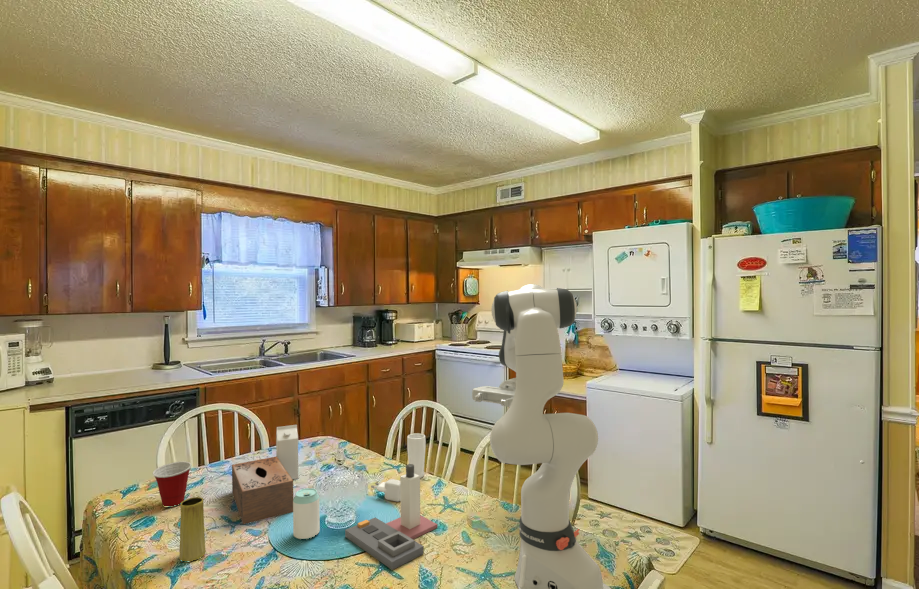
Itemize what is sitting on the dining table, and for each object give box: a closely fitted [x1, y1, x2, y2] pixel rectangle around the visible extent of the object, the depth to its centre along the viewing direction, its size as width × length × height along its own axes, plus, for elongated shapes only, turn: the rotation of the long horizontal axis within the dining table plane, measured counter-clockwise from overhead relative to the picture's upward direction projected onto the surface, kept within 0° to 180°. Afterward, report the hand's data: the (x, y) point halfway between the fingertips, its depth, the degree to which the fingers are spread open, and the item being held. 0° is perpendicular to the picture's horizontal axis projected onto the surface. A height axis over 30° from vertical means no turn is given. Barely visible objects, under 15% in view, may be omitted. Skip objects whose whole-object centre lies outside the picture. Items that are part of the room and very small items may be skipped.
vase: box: [178, 496, 207, 562], centre depth 121 cm, size 6×6×14 cm
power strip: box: [344, 517, 425, 571], centre depth 125 cm, size 22×10×4 cm, turn 44°
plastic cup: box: [152, 461, 192, 506], centre depth 151 cm, size 11×11×12 cm
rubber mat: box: [386, 514, 438, 540], centre depth 134 cm, size 11×11×1 cm
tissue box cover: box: [231, 455, 294, 525], centre depth 152 cm, size 26×14×10 cm, turn 32°
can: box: [292, 487, 321, 540], centre depth 131 cm, size 7×7×12 cm
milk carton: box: [275, 424, 299, 480], centre depth 172 cm, size 7×7×19 cm
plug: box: [400, 463, 421, 529], centre depth 134 cm, size 4×4×17 cm
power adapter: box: [370, 478, 401, 503], centre depth 154 cm, size 11×5×6 cm, turn 67°
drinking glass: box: [406, 432, 427, 479], centre depth 172 cm, size 7×7×15 cm
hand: (489, 401), depth 140 cm, fingers open, 8 cm apart
